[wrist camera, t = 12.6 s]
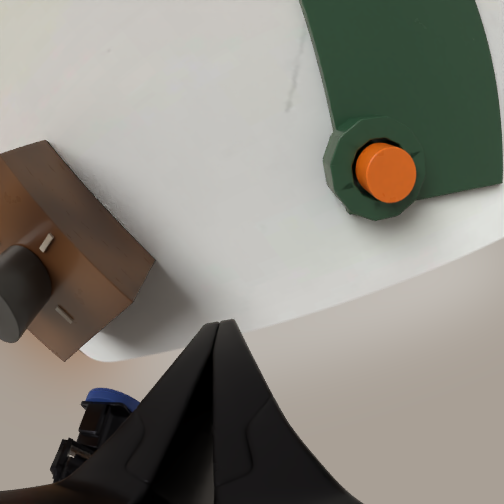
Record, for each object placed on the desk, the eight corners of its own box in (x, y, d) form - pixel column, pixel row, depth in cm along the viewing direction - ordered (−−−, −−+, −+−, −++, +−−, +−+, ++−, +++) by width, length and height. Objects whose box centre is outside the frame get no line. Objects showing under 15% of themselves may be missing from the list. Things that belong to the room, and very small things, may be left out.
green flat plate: (497, 181, 17) (517, 190, 15) (329, 214, 19) (339, 229, 16) (456, -32, 9) (474, -40, 7) (261, -47, 11) (263, -65, 8)
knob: (15, 230, 13) (-30, 266, 10) (62, 282, 15) (25, 327, 11) (-3, 270, 15) (-39, 306, 11) (38, 314, 16) (8, 356, 12)
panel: (155, 259, 20) (132, 304, 15) (87, 322, 23) (63, 363, 18) (45, 139, 16) (-3, 154, 11) (-3, 227, 18) (-40, 255, 14)
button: (404, 189, 16) (418, 198, 14) (358, 198, 16) (369, 208, 14) (399, 139, 14) (414, 143, 13) (351, 146, 15) (362, 151, 13)
